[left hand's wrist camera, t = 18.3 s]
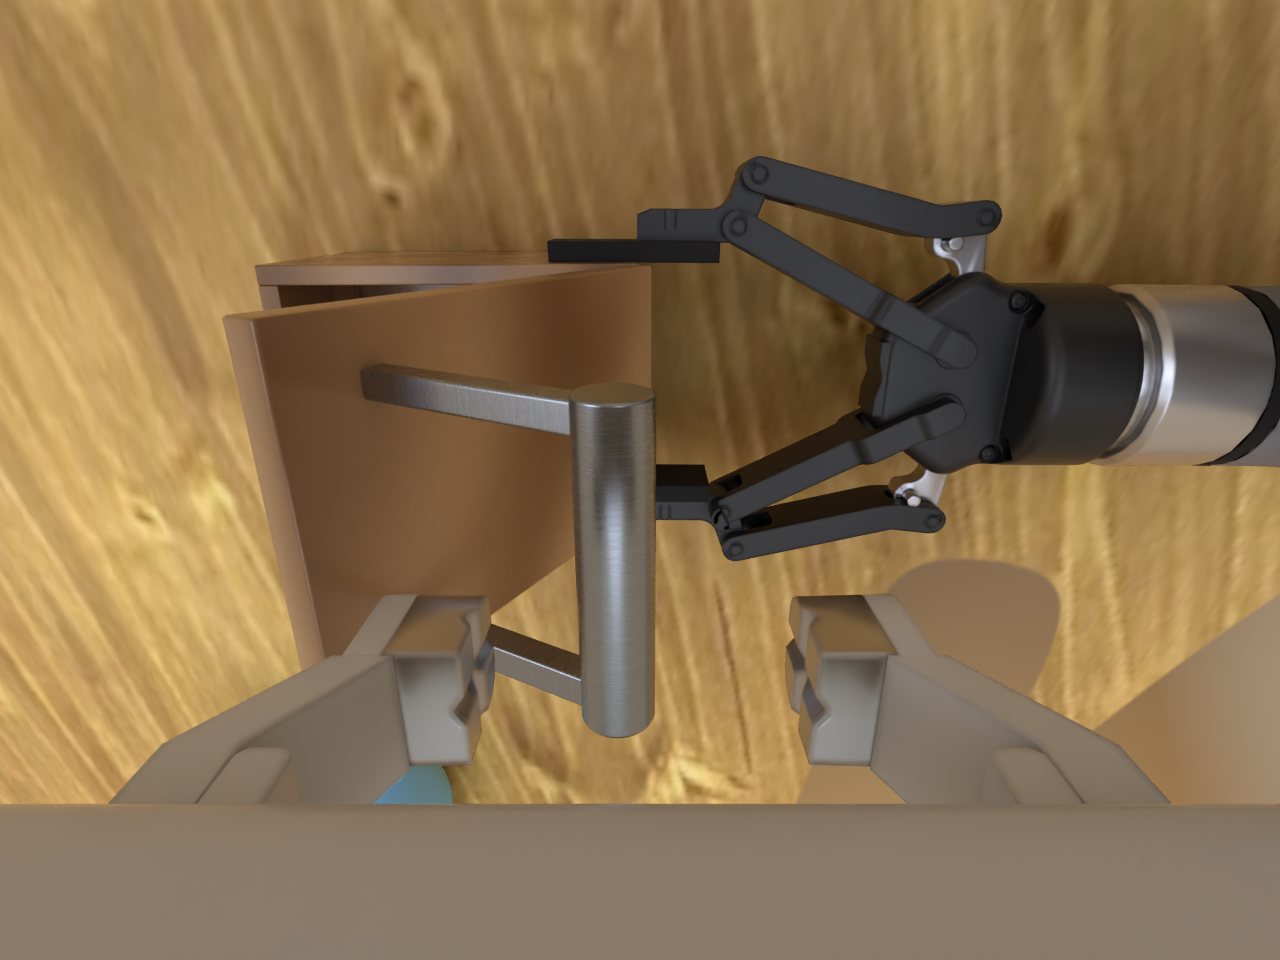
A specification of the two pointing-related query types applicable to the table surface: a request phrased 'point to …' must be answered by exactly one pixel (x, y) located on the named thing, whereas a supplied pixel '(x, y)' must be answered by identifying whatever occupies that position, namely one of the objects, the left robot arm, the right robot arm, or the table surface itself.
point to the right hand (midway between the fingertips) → (557, 373)
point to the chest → (398, 274)
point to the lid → (467, 465)
